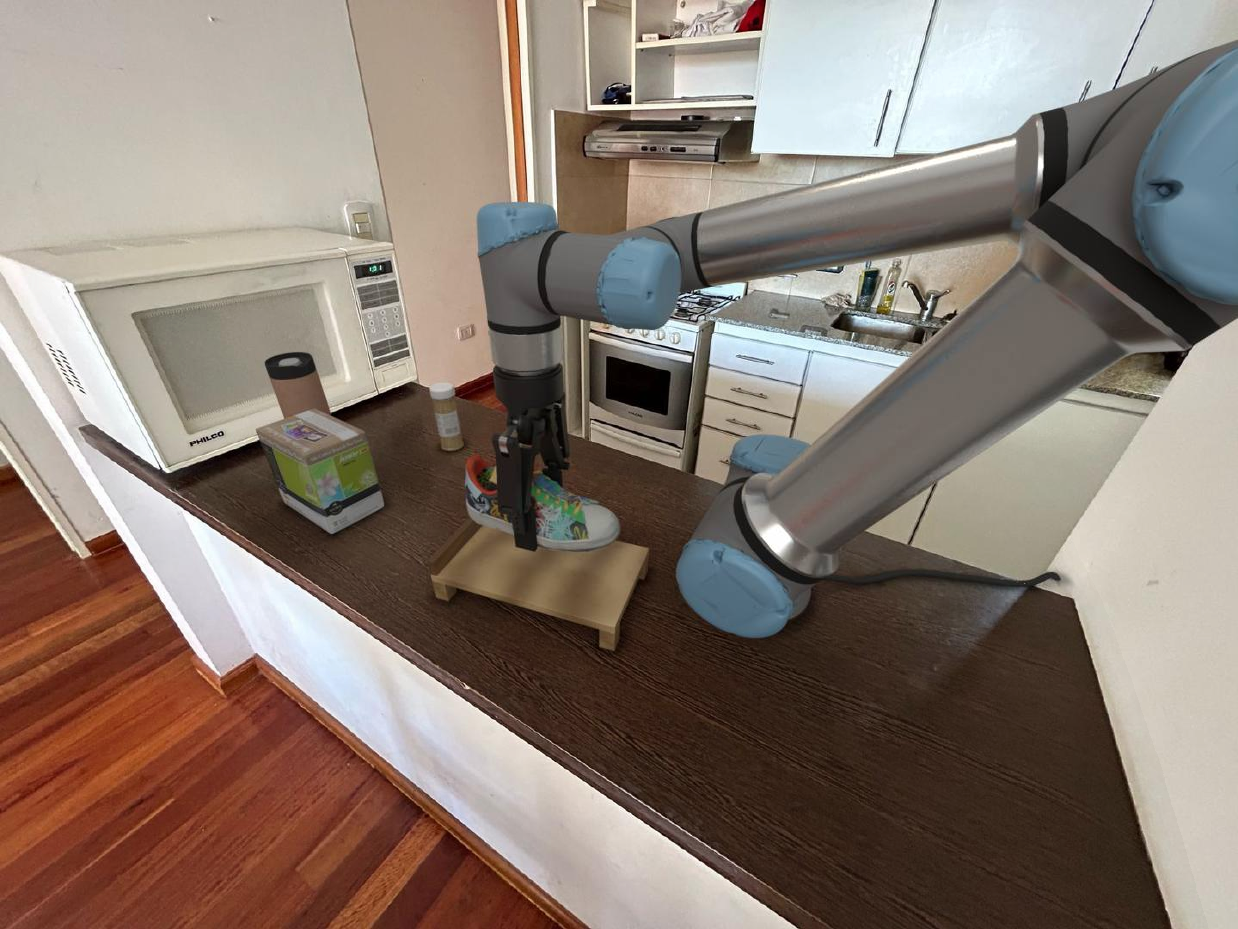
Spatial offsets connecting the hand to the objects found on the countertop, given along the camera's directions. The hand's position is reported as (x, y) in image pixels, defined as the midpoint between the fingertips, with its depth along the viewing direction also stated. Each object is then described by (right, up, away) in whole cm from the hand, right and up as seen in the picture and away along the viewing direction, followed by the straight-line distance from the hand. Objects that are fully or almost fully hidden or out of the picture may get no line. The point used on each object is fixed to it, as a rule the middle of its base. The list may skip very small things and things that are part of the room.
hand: (540, 528), depth 67 cm
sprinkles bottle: (-24, +12, +38) cm, 46 cm away
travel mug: (-49, +10, +34) cm, 60 cm away
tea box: (-38, +1, +20) cm, 43 cm away
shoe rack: (0, -9, +5) cm, 10 cm away
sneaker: (0, 0, +1) cm, 1 cm away
